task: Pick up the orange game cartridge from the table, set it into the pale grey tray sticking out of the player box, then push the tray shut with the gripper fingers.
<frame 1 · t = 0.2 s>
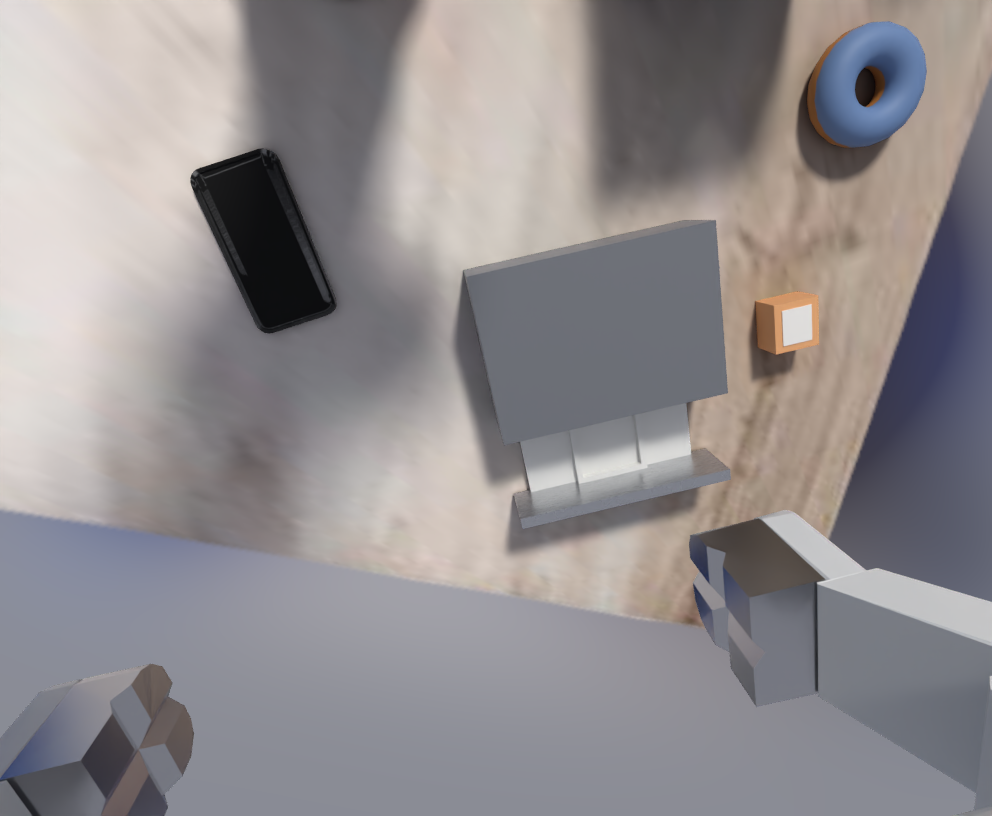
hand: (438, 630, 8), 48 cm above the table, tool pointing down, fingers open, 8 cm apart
doughnut: (848, 92, 52), on the table
cartridge: (776, 319, 58), on the table
phone: (269, 245, 51), on the table
player: (586, 325, 56), on the table
tray: (608, 424, 57), point 3 cm above the table, slide at 8.0 cm
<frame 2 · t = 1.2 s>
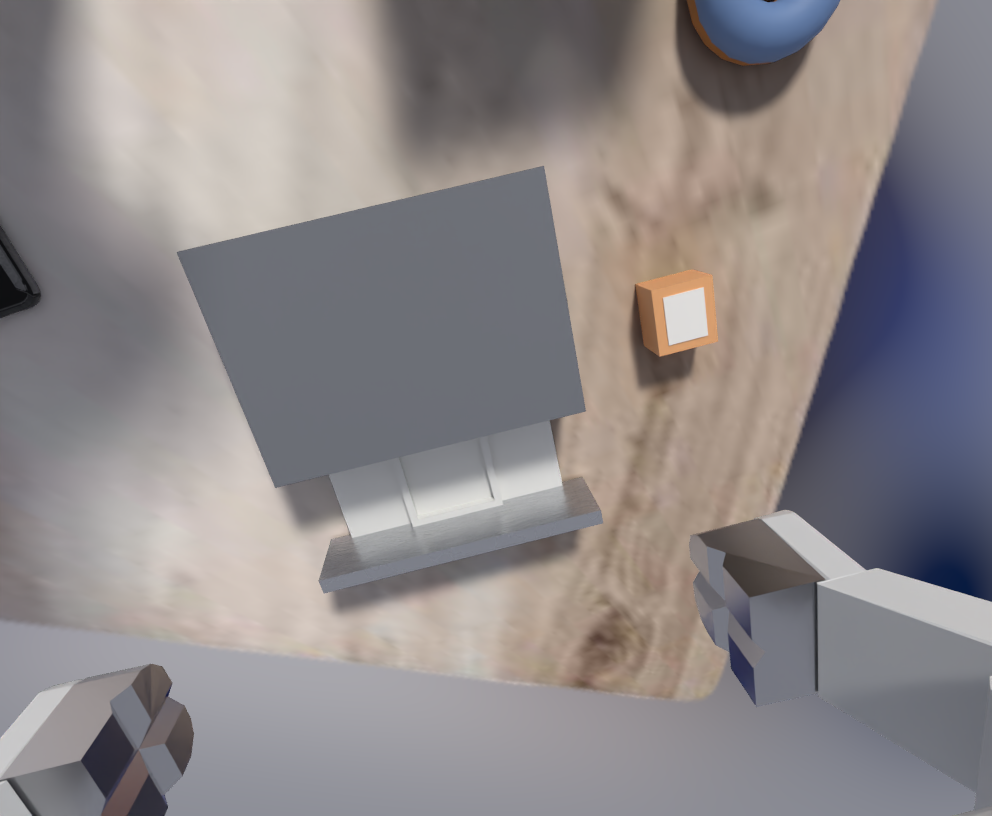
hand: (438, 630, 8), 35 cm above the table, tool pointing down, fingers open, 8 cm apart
cartridge: (666, 308, 43), on the table
player: (404, 318, 41), on the table
tray: (438, 451, 42), point 3 cm above the table, slide at 8.0 cm
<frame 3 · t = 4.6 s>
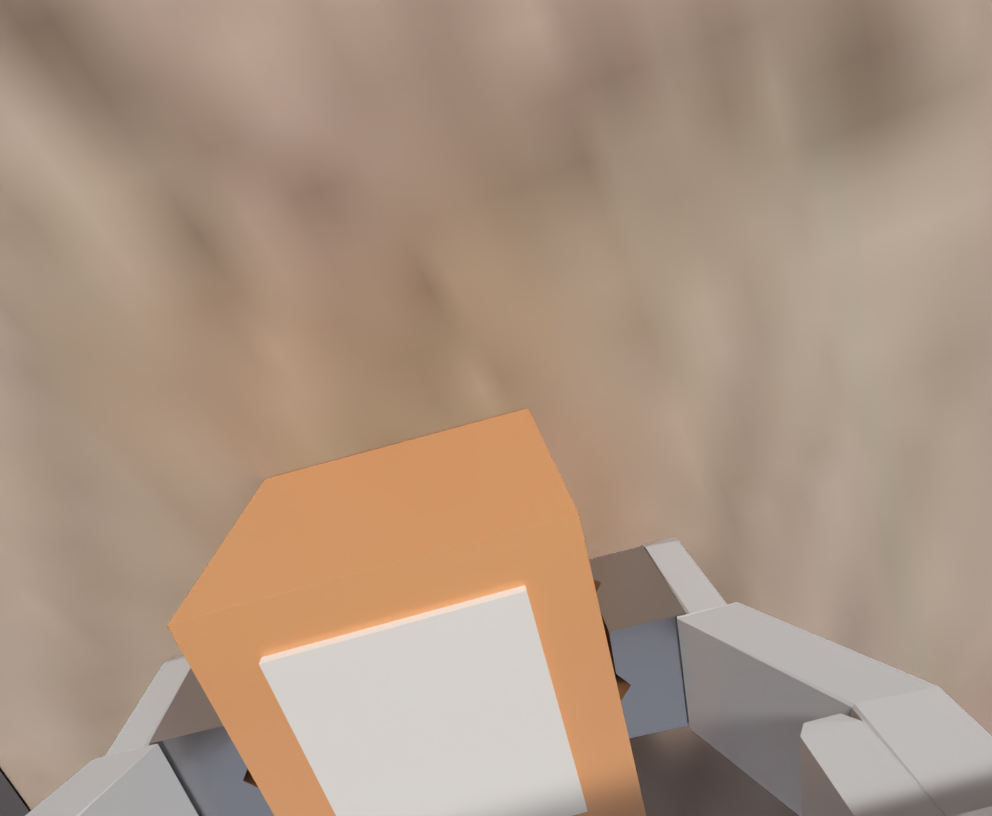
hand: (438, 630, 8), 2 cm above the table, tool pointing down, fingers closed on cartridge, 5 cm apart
cartridge: (438, 566, 10), on the table, touching gripper
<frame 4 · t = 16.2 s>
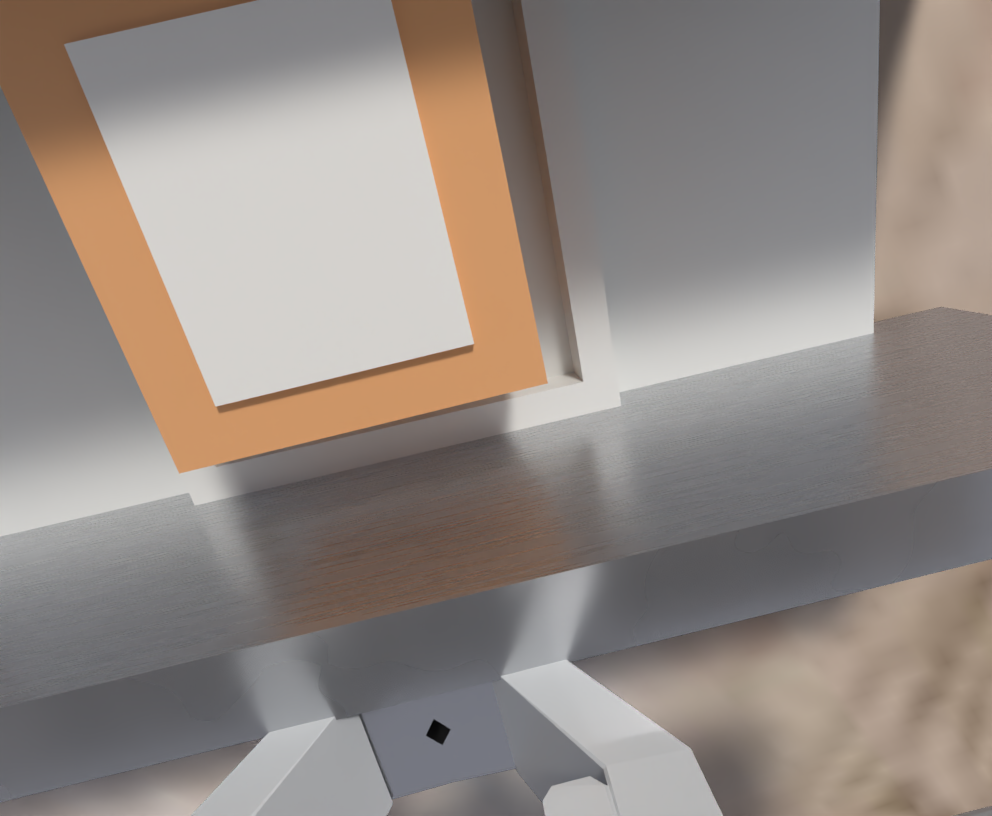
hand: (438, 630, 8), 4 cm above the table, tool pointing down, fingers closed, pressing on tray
cartridge: (346, 215, 9), point 1 cm above the table, touching tray
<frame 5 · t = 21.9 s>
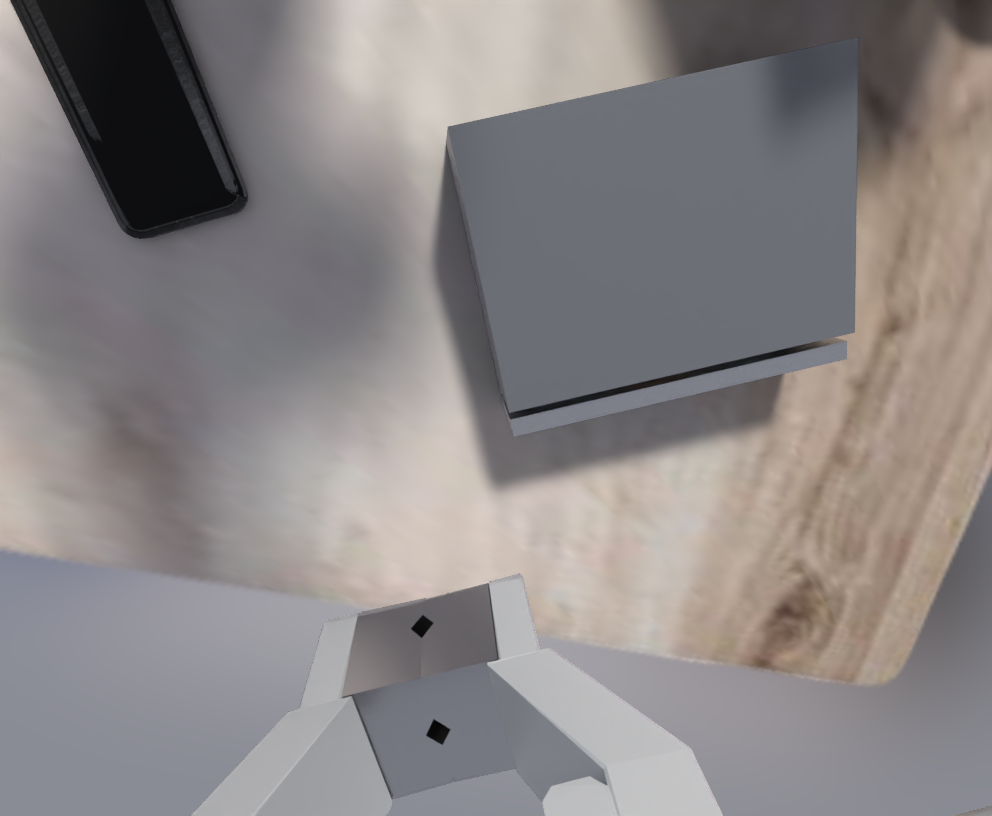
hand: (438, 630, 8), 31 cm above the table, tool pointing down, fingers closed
phone: (140, 96, 33), on the table
player: (632, 236, 37), on the table
tray: (651, 269, 35), point 3 cm above the table, slide at 0.1 cm, touching cartridge
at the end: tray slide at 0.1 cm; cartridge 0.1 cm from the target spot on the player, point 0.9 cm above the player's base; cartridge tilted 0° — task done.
